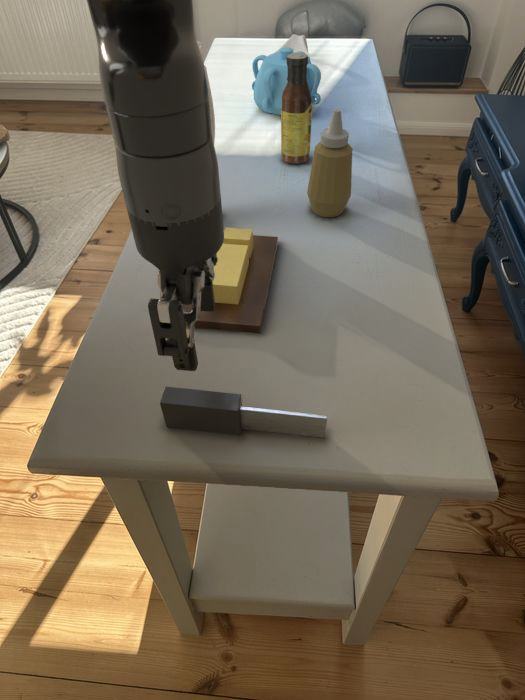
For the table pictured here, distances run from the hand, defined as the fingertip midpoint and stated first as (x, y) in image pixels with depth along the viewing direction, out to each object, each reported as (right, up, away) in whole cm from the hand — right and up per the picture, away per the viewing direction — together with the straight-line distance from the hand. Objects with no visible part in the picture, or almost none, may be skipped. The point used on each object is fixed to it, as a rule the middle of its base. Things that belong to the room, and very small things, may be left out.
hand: (196, 336), depth 50 cm
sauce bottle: (+14, +40, +55) cm, 70 cm away
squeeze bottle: (+19, +25, +41) cm, 52 cm away
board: (+2, +10, +27) cm, 29 cm away
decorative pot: (+13, +60, +74) cm, 96 cm away
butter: (+2, +9, +24) cm, 26 cm away
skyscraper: (-5, +23, +39) cm, 46 cm away
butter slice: (+3, +15, +30) cm, 33 cm away
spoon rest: (+16, +83, +95) cm, 127 cm away
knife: (+4, -11, +8) cm, 14 cm away
